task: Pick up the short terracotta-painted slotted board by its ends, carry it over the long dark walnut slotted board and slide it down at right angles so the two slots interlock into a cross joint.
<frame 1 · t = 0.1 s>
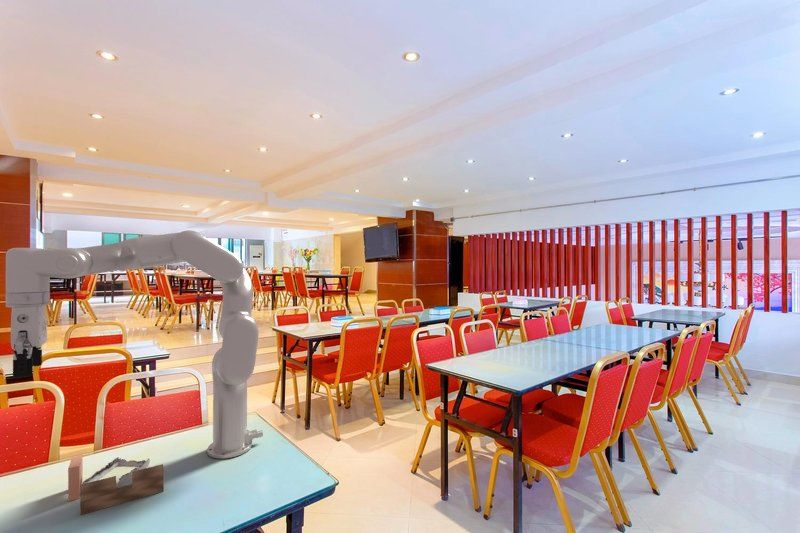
hand: (28, 370, 91), 31 cm above the table, tool pointing down, fingers open, 9 cm apart
walnut base board: (124, 500, 91), on the table
terracotta board: (75, 493, 94), on the table
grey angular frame: (114, 480, 101), on the table
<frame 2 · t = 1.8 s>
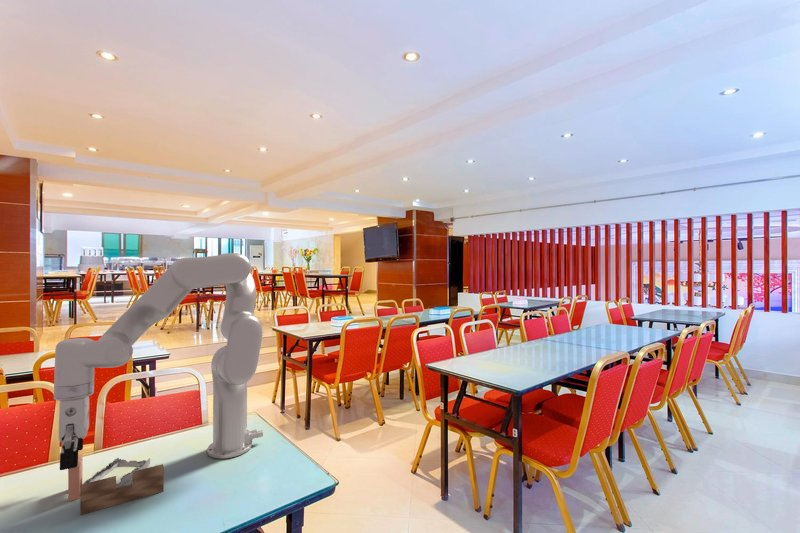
hand: (71, 459, 93), 9 cm above the table, tool pointing down, fingers open, 9 cm apart
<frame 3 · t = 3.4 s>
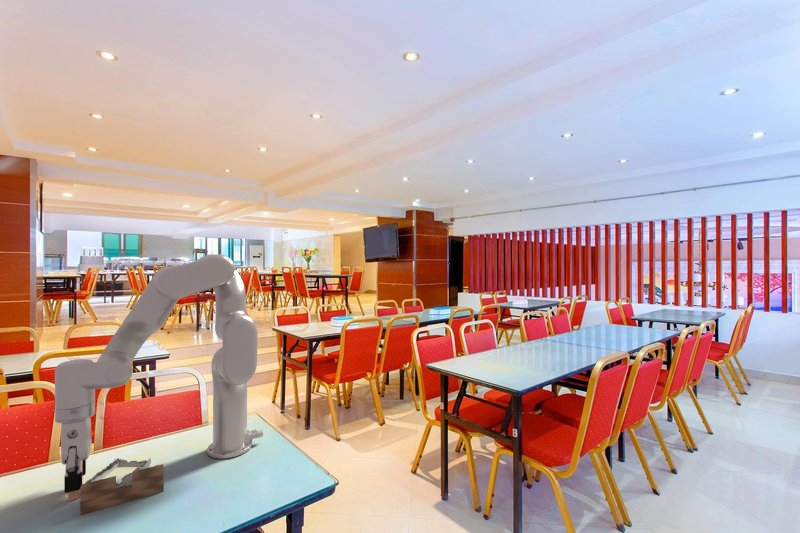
hand: (75, 482, 94), 3 cm above the table, tool pointing down, fingers closed on terracotta board, 6 cm apart
terracotta board: (75, 493, 94), on the table, touching gripper
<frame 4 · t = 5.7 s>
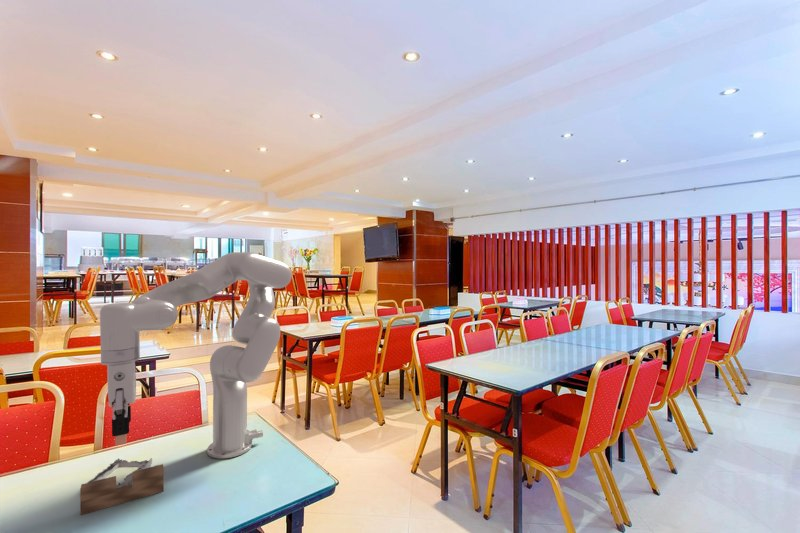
hand: (121, 428, 91), 17 cm above the table, tool pointing down, fingers closed on terracotta board, 6 cm apart
terracotta board: (121, 439, 91), point 15 cm above the table, touching gripper
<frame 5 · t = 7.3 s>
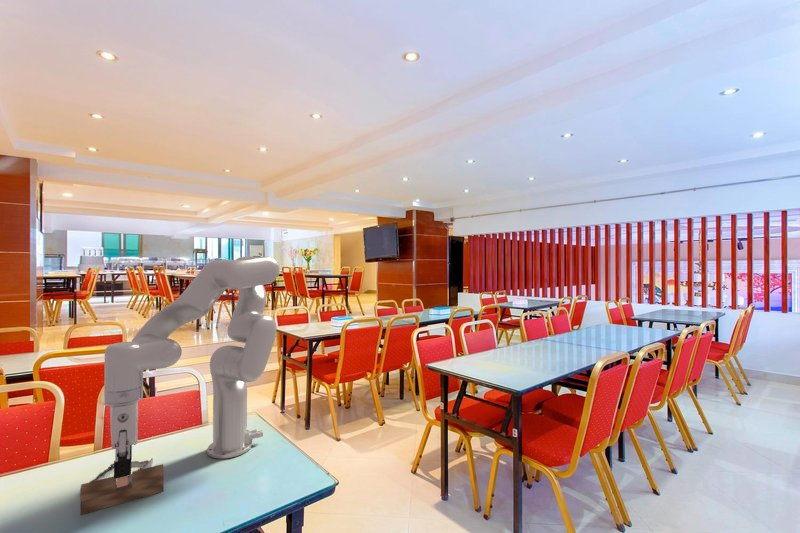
hand: (123, 468, 91), 8 cm above the table, tool pointing down, fingers closed on terracotta board, 6 cm apart
terracotta board: (122, 479, 91), point 5 cm above the table, touching gripper
when the fingers open (4 cm above the table, at t = 8.5 s): terracotta board drops 1 cm, resting on walnut base board.
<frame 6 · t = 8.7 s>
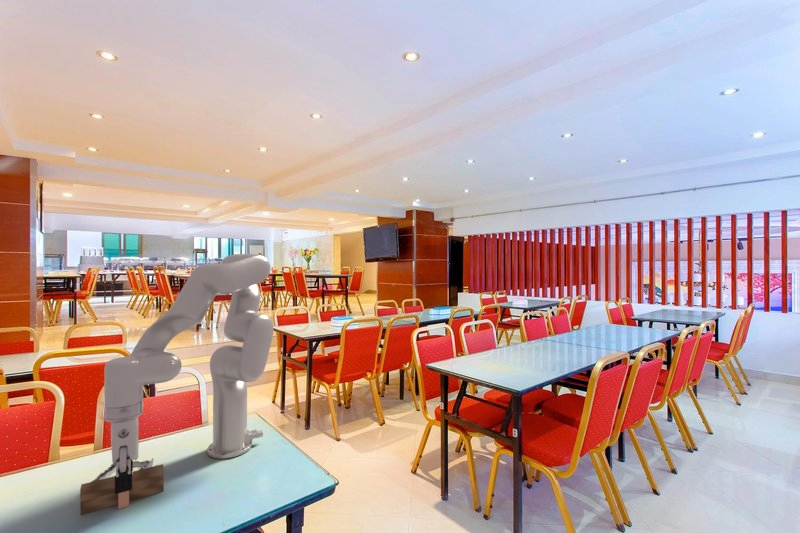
hand: (124, 481, 91), 5 cm above the table, tool pointing down, fingers open, 8 cm apart
terracotta board: (124, 500, 91), resting on walnut base board
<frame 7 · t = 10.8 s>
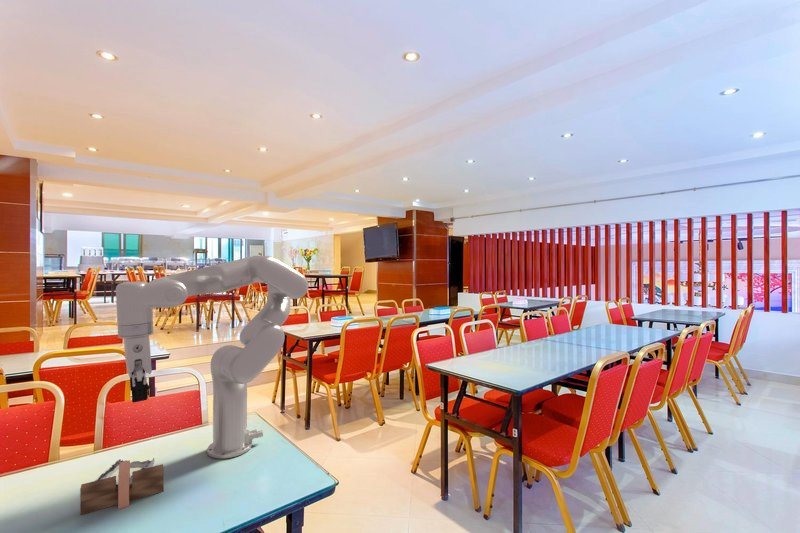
hand: (138, 395, 98), 23 cm above the table, tool pointing down, fingers open, 9 cm apart
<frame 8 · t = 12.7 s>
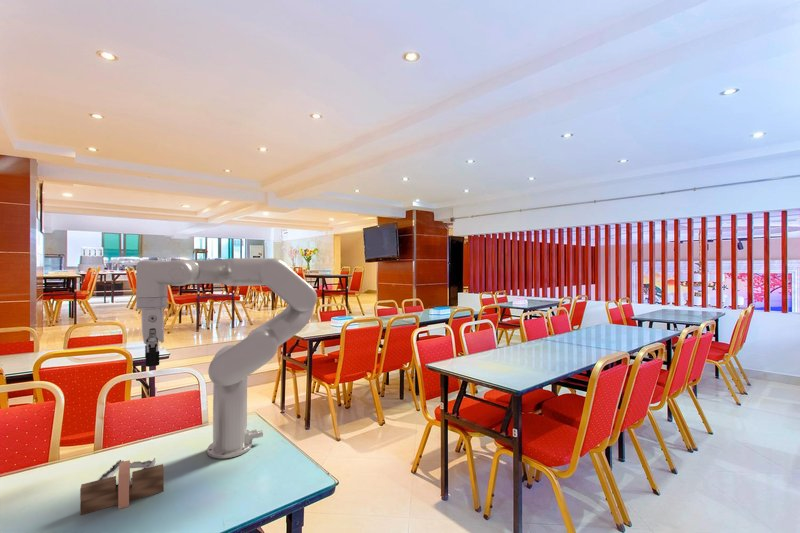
hand: (152, 361, 110), 28 cm above the table, tool pointing down, fingers open, 9 cm apart
at the end: terracotta board 0.0 cm off-centre on the walnut base board, point 0.0 cm above the walnut base board's base; terracotta board tilted 0°; the gripper is holding nothing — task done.
